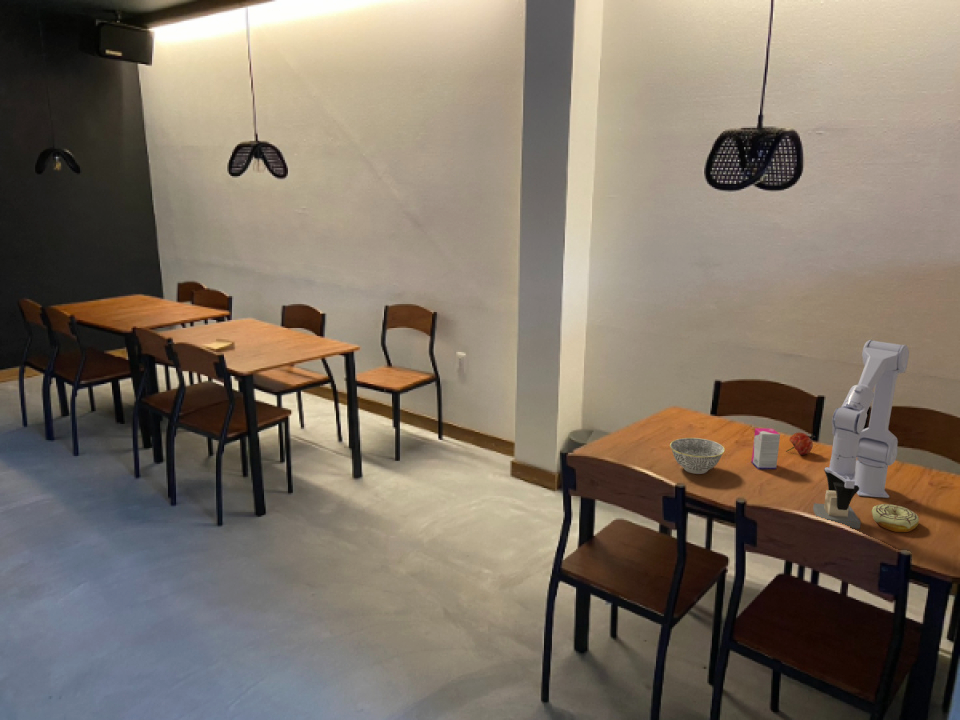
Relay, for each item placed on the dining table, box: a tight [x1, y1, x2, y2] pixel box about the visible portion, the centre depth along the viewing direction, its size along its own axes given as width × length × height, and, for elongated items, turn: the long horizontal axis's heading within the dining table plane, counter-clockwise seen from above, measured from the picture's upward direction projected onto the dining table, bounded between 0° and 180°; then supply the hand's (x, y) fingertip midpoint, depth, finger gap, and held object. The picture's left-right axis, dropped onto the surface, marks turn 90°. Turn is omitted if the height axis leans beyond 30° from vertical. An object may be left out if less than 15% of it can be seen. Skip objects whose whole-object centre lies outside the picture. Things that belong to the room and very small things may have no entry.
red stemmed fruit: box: [785, 431, 816, 456], centre depth 229 cm, size 7×7×10 cm
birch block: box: [823, 489, 850, 517], centre depth 184 cm, size 4×4×5 cm
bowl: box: [669, 437, 726, 475], centre depth 217 cm, size 16×16×8 cm
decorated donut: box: [871, 503, 920, 533], centre depth 183 cm, size 10×11×4 cm
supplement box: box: [750, 427, 781, 470], centre depth 219 cm, size 6×6×12 cm
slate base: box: [812, 502, 862, 530], centre depth 185 cm, size 9×9×2 cm
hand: (837, 502), depth 184 cm, fingers open, 7 cm apart
